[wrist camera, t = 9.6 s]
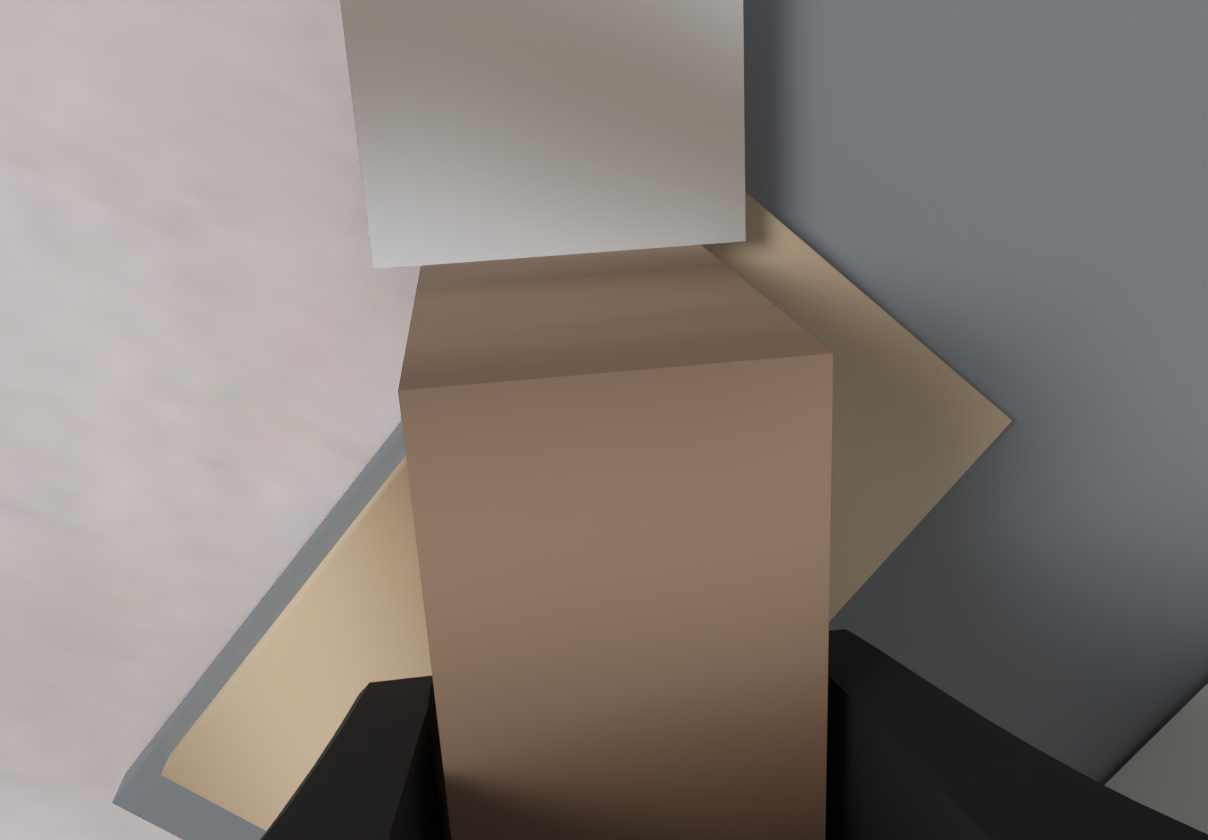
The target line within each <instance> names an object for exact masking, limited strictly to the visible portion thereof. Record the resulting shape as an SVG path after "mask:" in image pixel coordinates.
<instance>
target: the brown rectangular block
mask: <svg viewBox="0 0 1208 840" xmlns="http://www.w3.org/2000/svg"><path fill="white" fill-rule="evenodd" d="M340 4H341V12H342V20H343V28H344V36H345V44H346V52H347V61H348V69H349V77H350V85H351V93H352V101H353V110H354V118H355V126H356V134H357V142H358V150H359V158H360V167H361V175H362V183H363V191H364V199H365V207H366V216H367V224H368V232H369V240H370V248H371V256H372V265H373V269H382V268H395V267H409V266H421V269H420V274H419V279H418V285H417V290H416V296H415V301H414V307H413V312H412V318H411V323H410V329H409V334H408V340H407V345H406V351H405V356H404V362H403V367H402V373H401V378H400V383H399V389H398V393H399V402H400V410H401V418H402V427H403V435H404V444H405V452H406V460H407V469H408V477H409V485H410V494H411V502H412V511H413V519H414V527H415V536H416V544H417V552H418V561H419V569H420V578H421V586H422V594H423V603H424V611H425V619H426V628H427V636H428V645H429V653H430V661H431V670H432V678H433V686H434V695H435V703H436V712H437V720H438V728H439V737H440V745H441V753H442V762H443V770H444V779H445V787H446V795H447V804H448V812H449V820H450V829H451V837H452V840H825V829H826V768H827V707H828V645H829V584H830V523H831V462H832V401H833V353H832V352H831V351H830V350H829V349H827V348H826V347H825V346H824V345H823V344H821V343H820V342H819V341H818V340H816V339H815V338H814V337H813V336H812V335H810V334H809V333H808V332H807V331H805V330H804V329H803V328H802V327H801V326H799V325H798V324H797V323H796V322H794V321H793V320H792V319H791V318H790V317H788V316H787V315H786V314H785V313H783V312H782V311H781V310H780V309H779V308H777V307H776V306H775V305H774V304H772V303H771V302H770V301H769V300H768V299H766V298H765V297H764V296H763V295H761V294H760V293H759V292H758V291H757V290H755V289H754V288H753V287H752V286H750V285H749V284H748V283H747V282H746V281H744V280H743V279H742V278H741V277H739V276H738V275H737V274H736V273H735V272H733V271H732V270H731V269H730V268H728V267H727V266H726V265H725V264H724V263H722V262H721V261H720V260H719V259H717V258H716V257H715V256H714V255H713V254H711V253H710V252H709V251H708V250H706V249H705V248H704V247H703V246H702V244H716V243H729V242H742V241H746V222H745V126H744V29H743V0H340Z"/></svg>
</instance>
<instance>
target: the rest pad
mask: <svg viewBox="0 0 1208 840" xmlns="http://www.w3.org/2000/svg"><path fill="white" fill-rule="evenodd" d="M745 222H746V241H742V242H729V243H716V244H702V246H703V247H704V248H705V249H706V250H708V251H709V252H710V253H711V254H713V255H714V256H715V257H716V258H717V259H719V260H720V261H721V262H722V263H724V264H725V265H726V266H727V267H728V268H730V269H731V270H732V271H733V272H735V273H736V274H737V275H738V276H739V277H741V278H742V279H743V280H744V281H746V282H747V283H748V284H749V285H750V286H752V287H753V288H754V289H755V290H757V291H758V292H759V293H760V294H761V295H763V296H764V297H765V298H766V299H768V300H769V301H770V302H771V303H772V304H774V305H775V306H776V307H777V308H779V309H780V310H781V311H782V312H783V313H785V314H786V315H787V316H788V317H790V318H791V319H792V320H793V321H794V322H796V323H797V324H798V325H799V326H801V327H802V328H803V329H804V330H805V331H807V332H808V333H809V334H810V335H812V336H813V337H814V338H815V339H816V340H818V341H819V342H820V343H821V344H823V345H824V346H825V347H826V348H827V349H829V350H830V351H831V352H832V353H833V401H832V462H831V523H830V584H829V621H830V620H831V619H832V618H833V617H834V616H835V615H836V614H837V613H838V611H839V610H840V609H841V608H842V607H843V606H844V605H845V604H846V603H847V602H848V600H849V599H850V598H851V597H852V596H853V595H854V594H855V593H856V592H857V591H858V589H859V588H860V587H861V586H862V585H863V584H864V583H865V582H866V581H867V580H868V578H869V577H870V576H871V575H872V574H873V573H874V572H875V571H876V570H877V569H878V568H879V566H880V565H881V564H882V563H883V562H884V561H885V560H886V559H887V558H888V557H889V555H890V554H891V553H892V552H893V551H894V550H895V549H896V548H897V547H898V546H899V544H900V543H901V542H902V541H903V540H904V539H905V538H906V537H907V536H908V535H909V533H910V532H911V531H912V530H913V529H914V528H915V527H916V526H917V525H918V524H919V523H920V521H921V520H922V519H923V518H924V517H925V516H926V515H927V514H928V513H929V512H930V510H931V509H932V508H933V507H934V506H935V505H936V504H937V503H938V502H939V501H940V499H941V498H942V497H943V496H944V495H945V494H946V493H947V492H948V491H949V490H950V488H951V487H952V486H953V485H954V484H955V483H956V482H957V481H958V480H959V479H960V477H961V476H962V475H963V474H964V473H965V472H966V471H967V470H968V469H969V468H970V467H971V465H972V464H973V463H974V462H975V461H976V460H977V459H978V458H979V457H980V456H981V454H982V453H983V452H984V451H985V450H986V449H987V448H988V447H989V446H990V445H991V443H992V442H993V441H994V440H995V439H996V438H997V437H998V436H999V435H1000V434H1001V432H1002V431H1003V430H1004V429H1005V428H1006V427H1007V426H1008V425H1009V424H1010V423H1011V421H1012V420H1011V419H1010V418H1008V417H1007V416H1006V415H1005V414H1004V413H1003V412H1001V411H1000V410H999V409H998V408H997V407H996V406H994V405H993V404H992V403H991V402H990V401H989V400H987V399H986V398H985V397H984V396H983V395H982V394H980V393H979V392H978V391H977V390H976V389H975V388H973V387H972V386H971V385H970V384H969V383H968V382H966V381H965V380H964V379H963V378H962V377H961V376H960V375H958V374H957V373H956V372H955V371H954V370H953V369H951V368H950V367H949V366H948V365H947V364H946V363H944V362H943V361H942V360H941V359H940V358H939V357H937V356H936V355H935V354H934V353H933V352H932V351H930V350H929V349H928V348H927V347H926V346H925V345H923V344H922V343H921V342H920V341H919V340H918V339H916V338H915V337H914V336H913V335H912V334H911V333H909V332H908V331H907V330H906V329H905V328H904V327H902V326H901V325H900V324H899V323H898V322H897V321H895V320H894V319H893V318H892V317H891V316H890V315H888V314H887V313H886V312H885V311H884V310H883V309H881V308H880V307H879V306H878V305H877V304H876V303H874V302H873V301H872V300H871V299H870V298H869V297H867V296H866V295H865V294H864V293H863V292H862V291H860V290H859V289H858V288H857V287H856V286H855V285H853V284H852V283H851V282H850V281H849V280H848V279H846V278H845V277H844V276H843V275H842V274H841V273H839V272H838V271H837V270H836V269H835V268H834V267H832V266H831V265H830V264H829V263H828V262H827V261H825V260H824V259H823V258H822V257H821V256H820V255H819V254H817V253H816V252H815V251H814V250H813V249H812V248H810V247H809V246H808V245H807V244H806V243H805V242H803V241H802V240H801V239H800V238H799V237H798V236H796V235H795V234H794V233H793V232H792V231H791V230H789V229H788V228H787V227H786V226H785V225H784V224H782V223H781V222H780V221H779V220H778V219H777V218H775V217H774V216H773V215H772V214H771V213H770V212H768V211H767V210H766V209H765V208H764V207H763V206H761V205H760V204H759V203H758V202H757V201H756V200H754V199H753V198H752V197H751V196H750V195H749V194H747V193H746V192H745ZM423 676H432V670H431V661H430V653H429V645H428V636H427V628H426V619H425V611H424V603H423V594H422V586H421V578H420V569H419V561H418V552H417V544H416V536H415V527H414V519H413V511H412V502H411V494H410V485H409V477H408V469H407V460H406V456H405V457H404V458H403V459H402V461H401V462H400V463H399V465H398V466H397V467H396V468H395V470H394V471H393V472H392V473H391V475H390V476H389V477H388V478H387V480H386V481H385V482H384V484H383V485H382V486H381V487H380V489H379V490H378V491H377V492H376V494H375V495H374V496H373V497H372V499H371V500H370V501H369V503H368V504H367V505H366V506H365V508H364V509H363V510H362V511H361V513H360V514H359V515H358V516H357V518H356V519H355V520H354V522H353V523H352V524H351V525H350V527H349V528H348V529H347V530H346V532H345V533H344V534H343V535H342V537H341V538H340V539H339V541H338V542H337V543H336V544H335V546H334V547H333V548H332V549H331V551H330V552H329V553H328V554H327V556H326V557H325V558H324V560H323V561H322V562H321V563H320V565H319V566H318V567H317V568H316V570H315V571H314V572H313V574H312V575H311V576H310V577H309V579H308V580H307V581H306V582H305V584H304V585H303V586H302V587H301V589H300V590H299V591H298V593H297V594H296V595H295V596H294V598H293V599H292V600H291V601H290V603H289V604H288V605H287V606H286V608H285V609H284V610H283V612H282V613H281V614H280V615H279V617H278V618H277V619H276V620H275V622H274V623H273V624H272V625H271V627H270V628H269V629H268V631H267V632H266V633H265V634H264V636H263V637H262V638H261V639H260V641H259V642H258V643H257V644H256V646H255V647H254V648H253V650H252V651H251V652H250V653H249V655H248V656H247V657H246V658H245V660H244V661H243V662H242V664H241V665H240V666H239V667H238V669H237V670H236V671H235V672H234V674H233V675H232V676H231V677H230V679H229V680H228V681H227V683H226V684H225V685H224V686H223V688H222V689H221V690H220V691H219V693H218V694H217V695H216V696H215V698H214V699H213V700H212V702H211V703H210V704H209V705H208V707H207V708H206V709H205V710H204V712H203V713H202V714H201V715H200V717H199V718H198V719H197V721H196V722H195V723H194V724H193V726H192V727H191V728H190V729H189V731H188V732H187V733H186V734H185V736H184V737H183V738H182V740H181V741H180V742H179V743H178V745H177V746H176V747H175V748H174V750H173V751H172V752H171V754H170V755H169V757H168V759H167V761H166V764H165V766H164V769H163V771H162V773H161V775H162V776H164V777H166V778H168V779H169V780H171V781H173V782H175V783H177V784H179V785H181V786H183V787H184V788H186V789H188V790H190V791H192V792H194V793H196V794H198V795H199V796H201V797H203V798H205V799H207V800H209V801H211V802H213V803H215V804H216V805H218V806H220V807H222V808H224V809H226V810H228V811H230V812H231V813H233V814H235V815H237V816H239V817H241V818H243V819H245V820H246V821H248V822H250V823H252V824H254V825H256V826H258V827H260V828H261V829H263V830H265V831H267V830H268V829H269V827H270V826H271V825H272V823H273V822H274V821H275V819H276V818H277V817H278V815H279V814H280V812H281V811H282V810H283V808H284V807H285V805H286V804H287V803H288V801H289V800H290V798H291V797H292V796H293V794H294V793H295V791H296V790H297V789H298V787H299V786H300V784H301V783H302V782H303V780H304V779H305V777H306V776H307V775H308V773H309V772H310V770H311V769H312V767H313V766H314V764H315V763H316V761H317V760H318V758H319V757H320V755H321V754H322V752H323V751H324V749H325V748H326V746H327V745H328V743H329V742H330V740H331V739H332V737H333V736H334V734H335V733H336V731H337V729H338V728H339V726H340V725H341V723H342V721H343V720H344V718H345V716H346V715H347V713H348V712H349V710H350V708H351V707H352V705H353V703H354V702H355V700H356V698H357V697H358V695H359V694H360V693H361V691H362V690H363V689H364V688H365V687H366V686H367V685H368V684H369V682H378V681H387V680H396V679H405V678H414V677H423Z"/></svg>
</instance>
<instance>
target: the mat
mask: <svg viewBox="0 0 1208 840" xmlns="http://www.w3.org/2000/svg"><path fill="white" fill-rule="evenodd" d="M743 29H744V126H745V192H746V193H747V194H749V195H750V196H751V197H752V198H753V199H754V200H756V201H757V202H758V203H759V204H760V205H761V206H763V207H764V208H765V209H766V210H767V211H768V212H770V213H771V214H772V215H773V216H774V217H775V218H777V219H778V220H779V221H780V222H781V223H782V224H784V225H785V226H786V227H787V228H788V229H789V230H791V231H792V232H793V233H794V234H795V235H796V236H798V237H799V238H800V239H801V240H802V241H803V242H805V243H806V244H807V245H808V246H809V247H810V248H812V249H813V250H814V251H815V252H816V253H817V254H819V255H820V256H821V257H822V258H823V259H824V260H825V261H827V262H828V263H829V264H830V265H831V266H832V267H834V268H835V269H836V270H837V271H838V272H839V273H841V274H842V275H843V276H844V277H845V278H846V279H848V280H849V281H850V282H851V283H852V284H853V285H855V286H856V287H857V288H858V289H859V290H860V291H862V292H863V293H864V294H865V295H866V296H867V297H869V298H870V299H871V300H872V301H873V302H874V303H876V304H877V305H878V306H879V307H880V308H881V309H883V310H884V311H885V312H886V313H887V314H888V315H890V316H891V317H892V318H893V319H894V320H895V321H897V322H898V323H899V324H900V325H901V326H902V327H904V328H905V329H906V330H907V331H908V332H909V333H911V334H912V335H913V336H914V337H915V338H916V339H918V340H919V341H920V342H921V343H922V344H923V345H925V346H926V347H927V348H928V349H929V350H930V351H932V352H933V353H934V354H935V355H936V356H937V357H939V358H940V359H941V360H942V361H943V362H944V363H946V364H947V365H948V366H949V367H950V368H951V369H953V370H954V371H955V372H956V373H957V374H958V375H960V376H961V377H962V378H963V379H964V380H965V381H966V382H968V383H969V384H970V385H971V386H972V387H973V388H975V389H976V390H977V391H978V392H979V393H980V394H982V395H983V396H984V397H985V398H986V399H987V400H989V401H990V402H991V403H992V404H993V405H994V406H996V407H997V408H998V409H999V410H1000V411H1001V412H1003V413H1004V414H1005V415H1006V416H1007V417H1008V418H1010V419H1011V420H1012V421H1011V423H1010V424H1009V425H1008V426H1007V427H1006V428H1005V429H1004V430H1003V431H1002V432H1001V434H1000V435H999V436H998V437H997V438H996V439H995V440H994V441H993V442H992V443H991V445H990V446H989V447H988V448H987V449H986V450H985V451H984V452H983V453H982V454H981V456H980V457H979V458H978V459H977V460H976V461H975V462H974V463H973V464H972V465H971V467H970V468H969V469H968V470H967V471H966V472H965V473H964V474H963V475H962V476H961V477H960V479H959V480H958V481H957V482H956V483H955V484H954V485H953V486H952V487H951V488H950V490H949V491H948V492H947V493H946V494H945V495H944V496H943V497H942V498H941V499H940V501H939V502H938V503H937V504H936V505H935V506H934V507H933V508H932V509H931V510H930V512H929V513H928V514H927V515H926V516H925V517H924V518H923V519H922V520H921V521H920V523H919V524H918V525H917V526H916V527H915V528H914V529H913V530H912V531H911V532H910V533H909V535H908V536H907V537H906V538H905V539H904V540H903V541H902V542H901V543H900V544H899V546H898V547H897V548H896V549H895V550H894V551H893V552H892V553H891V554H890V555H889V557H888V558H887V559H886V560H885V561H884V562H883V563H882V564H881V565H880V566H879V568H878V569H877V570H876V571H875V572H874V573H873V574H872V575H871V576H870V577H869V578H868V580H867V581H866V582H865V583H864V584H863V585H862V586H861V587H860V588H859V589H858V591H857V592H856V593H855V594H854V595H853V596H852V597H851V598H850V599H849V600H848V602H847V603H846V604H845V605H844V606H843V607H842V608H841V609H840V610H839V611H838V613H837V614H836V615H835V616H834V617H833V618H832V619H831V620H830V621H829V631H832V630H841V629H846V630H848V631H850V632H851V633H853V634H855V635H857V636H858V637H860V638H862V639H863V640H865V641H867V642H868V643H870V644H871V645H873V646H875V647H876V648H878V649H879V650H881V651H882V652H884V653H885V654H887V655H888V656H890V657H892V658H893V659H895V660H896V661H898V662H899V663H901V664H902V665H904V666H905V667H907V668H908V669H910V670H911V671H913V672H914V673H916V674H917V675H919V676H921V677H922V678H924V679H925V680H927V681H928V682H930V683H931V684H933V685H934V686H936V687H937V688H939V689H941V690H942V691H944V692H945V693H947V694H948V695H950V696H951V697H953V698H955V699H956V700H958V701H959V702H961V703H962V704H964V705H966V706H967V707H969V708H970V709H972V710H974V711H975V712H977V713H978V714H980V715H982V716H983V717H985V718H986V719H988V720H990V721H991V722H993V723H995V724H996V725H998V726H1000V727H1001V728H1003V729H1004V730H1006V731H1008V732H1009V733H1011V734H1013V735H1015V736H1016V737H1018V738H1020V739H1021V740H1023V741H1025V742H1026V743H1028V744H1030V745H1032V746H1033V747H1035V748H1037V749H1038V750H1040V751H1042V752H1044V753H1046V754H1048V755H1049V756H1051V757H1053V758H1055V759H1057V760H1058V761H1060V762H1062V763H1064V764H1066V765H1068V766H1069V767H1071V768H1073V769H1075V770H1077V771H1079V772H1080V773H1082V774H1084V775H1086V776H1088V777H1089V778H1091V779H1093V780H1095V781H1097V782H1099V783H1101V784H1103V785H1105V784H1106V783H1107V782H1108V781H1109V780H1110V779H1111V778H1112V777H1113V776H1114V775H1115V774H1116V773H1117V772H1118V771H1119V770H1120V769H1121V768H1122V767H1123V766H1124V765H1125V764H1126V763H1127V762H1128V761H1129V760H1130V759H1131V758H1132V757H1133V756H1134V755H1135V754H1136V753H1137V752H1138V751H1139V750H1140V749H1141V748H1143V747H1144V746H1145V745H1146V744H1147V743H1148V742H1149V741H1150V740H1151V739H1152V738H1153V737H1154V736H1155V735H1156V734H1157V733H1158V732H1159V731H1160V730H1161V729H1162V728H1163V727H1164V726H1165V725H1166V724H1167V723H1168V722H1169V721H1170V720H1171V719H1172V718H1173V717H1174V716H1175V715H1176V714H1177V713H1178V712H1179V711H1180V710H1181V709H1182V708H1183V707H1184V706H1185V705H1186V704H1187V703H1188V702H1189V701H1190V700H1191V699H1192V698H1193V697H1194V696H1195V695H1196V694H1197V693H1198V692H1199V691H1200V690H1201V689H1202V688H1203V687H1204V686H1205V685H1206V684H1207V683H1208V0H743ZM405 456H406V452H405V444H404V435H403V427H402V421H401V422H400V424H399V425H398V426H397V427H396V429H395V430H394V431H393V433H392V434H391V435H390V436H389V438H388V439H387V440H386V441H385V443H384V444H383V445H382V447H381V448H380V449H379V450H378V452H377V453H376V454H375V456H374V457H373V458H372V459H371V461H370V462H369V463H368V464H367V466H366V467H365V468H364V470H363V471H362V472H361V473H360V475H359V476H358V477H357V479H356V480H355V481H354V482H353V484H352V485H351V486H350V487H349V489H348V490H347V491H346V493H345V494H344V495H343V496H342V498H341V499H340V500H339V502H338V503H337V504H336V505H335V507H334V508H333V509H332V510H331V512H330V513H329V514H328V516H327V517H326V518H325V519H324V521H323V522H322V523H321V525H320V526H319V527H318V528H317V530H316V531H315V532H314V534H313V535H312V536H311V537H310V539H309V540H308V541H307V542H306V544H305V545H304V546H303V548H302V549H301V550H300V551H299V553H298V554H297V555H296V557H295V558H294V559H293V560H292V562H291V563H290V564H289V565H288V567H287V568H286V569H285V571H284V572H283V573H282V574H281V576H280V577H279V578H278V580H277V581H276V582H275V583H274V585H273V586H272V587H271V588H270V590H269V591H268V592H267V594H266V595H265V596H264V597H263V599H262V600H261V601H260V603H259V604H258V605H257V606H256V608H255V609H254V610H253V611H252V613H251V614H250V615H249V617H248V618H247V619H246V620H245V622H244V623H243V624H242V626H241V627H240V628H239V629H238V631H237V632H236V633H235V634H234V636H233V637H232V638H231V640H230V641H229V642H228V643H227V645H226V646H225V647H224V649H223V650H222V651H221V652H220V654H219V655H218V656H217V657H216V659H215V660H214V661H213V663H212V664H211V665H210V666H209V668H208V669H207V670H206V672H205V673H204V674H203V675H202V677H201V678H200V679H199V681H198V682H197V683H196V684H195V686H194V687H193V688H192V689H191V691H190V692H189V693H188V695H187V696H186V697H185V698H184V700H183V701H182V702H181V704H180V705H179V706H178V707H177V709H176V710H175V711H174V712H173V714H172V715H171V716H170V718H169V719H168V720H167V721H166V723H165V724H164V725H163V727H162V728H161V729H160V730H159V732H158V733H157V734H156V735H155V737H154V738H153V739H152V741H151V742H150V743H149V744H148V746H147V747H146V748H145V750H144V751H143V752H142V753H141V755H140V756H139V757H138V758H137V760H136V761H135V762H134V764H133V765H132V766H131V767H130V769H129V770H128V771H127V773H126V774H125V776H124V778H123V780H122V782H121V785H120V787H119V789H118V791H117V793H116V795H115V798H114V800H113V802H112V803H114V804H115V805H117V806H119V807H121V808H123V809H125V810H127V811H129V812H131V813H133V814H135V815H137V816H139V817H141V818H143V819H145V820H146V821H148V822H150V823H152V824H154V825H156V826H158V827H160V828H162V829H164V830H166V831H168V832H170V833H172V834H174V835H176V836H177V837H179V838H181V839H183V840H260V839H261V837H262V836H263V835H264V834H265V832H266V831H265V830H263V829H261V828H260V827H258V826H256V825H254V824H252V823H250V822H248V821H246V820H245V819H243V818H241V817H239V816H237V815H235V814H233V813H231V812H230V811H228V810H226V809H224V808H222V807H220V806H218V805H216V804H215V803H213V802H211V801H209V800H207V799H205V798H203V797H201V796H199V795H198V794H196V793H194V792H192V791H190V790H188V789H186V788H184V787H183V786H181V785H179V784H177V783H175V782H173V781H171V780H169V779H168V778H166V777H164V776H162V775H161V773H162V771H163V769H164V766H165V764H166V761H167V759H168V757H169V755H170V754H171V752H172V751H173V750H174V748H175V747H176V746H177V745H178V743H179V742H180V741H181V740H182V738H183V737H184V736H185V734H186V733H187V732H188V731H189V729H190V728H191V727H192V726H193V724H194V723H195V722H196V721H197V719H198V718H199V717H200V715H201V714H202V713H203V712H204V710H205V709H206V708H207V707H208V705H209V704H210V703H211V702H212V700H213V699H214V698H215V696H216V695H217V694H218V693H219V691H220V690H221V689H222V688H223V686H224V685H225V684H226V683H227V681H228V680H229V679H230V677H231V676H232V675H233V674H234V672H235V671H236V670H237V669H238V667H239V666H240V665H241V664H242V662H243V661H244V660H245V658H246V657H247V656H248V655H249V653H250V652H251V651H252V650H253V648H254V647H255V646H256V644H257V643H258V642H259V641H260V639H261V638H262V637H263V636H264V634H265V633H266V632H267V631H268V629H269V628H270V627H271V625H272V624H273V623H274V622H275V620H276V619H277V618H278V617H279V615H280V614H281V613H282V612H283V610H284V609H285V608H286V606H287V605H288V604H289V603H290V601H291V600H292V599H293V598H294V596H295V595H296V594H297V593H298V591H299V590H300V589H301V587H302V586H303V585H304V584H305V582H306V581H307V580H308V579H309V577H310V576H311V575H312V574H313V572H314V571H315V570H316V568H317V567H318V566H319V565H320V563H321V562H322V561H323V560H324V558H325V557H326V556H327V554H328V553H329V552H330V551H331V549H332V548H333V547H334V546H335V544H336V543H337V542H338V541H339V539H340V538H341V537H342V535H343V534H344V533H345V532H346V530H347V529H348V528H349V527H350V525H351V524H352V523H353V522H354V520H355V519H356V518H357V516H358V515H359V514H360V513H361V511H362V510H363V509H364V508H365V506H366V505H367V504H368V503H369V501H370V500H371V499H372V497H373V496H374V495H375V494H376V492H377V491H378V490H379V489H380V487H381V486H382V485H383V484H384V482H385V481H386V480H387V478H388V477H389V476H390V475H391V473H392V472H393V471H394V470H395V468H396V467H397V466H398V465H399V463H400V462H401V461H402V459H403V458H404V457H405Z"/></svg>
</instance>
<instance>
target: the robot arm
mask: <svg viewBox="0 0 1208 840" xmlns="http://www.w3.org/2000/svg"><path fill="white" fill-rule="evenodd" d="M260 840H452V837H451V829H450V820H449V812H448V804H447V795H446V787H445V779H444V770H443V762H442V753H441V745H440V737H439V728H438V720H437V712H436V703H435V695H434V686H433V678H432V676H423V677H414V678H405V679H396V680H387V681H378V682H369V684H368V685H367V686H366V687H365V688H364V689H363V690H362V691H361V693H360V694H359V695H358V697H357V698H356V700H355V702H354V703H353V705H352V707H351V708H350V710H349V712H348V713H347V715H346V716H345V718H344V720H343V721H342V723H341V725H340V726H339V728H338V729H337V731H336V733H335V734H334V736H333V737H332V739H331V740H330V742H329V743H328V745H327V746H326V748H325V749H324V751H323V752H322V754H321V755H320V757H319V758H318V760H317V761H316V763H315V764H314V766H313V767H312V769H311V770H310V772H309V773H308V775H307V776H306V777H305V779H304V780H303V782H302V783H301V784H300V786H299V787H298V789H297V790H296V791H295V793H294V794H293V796H292V797H291V798H290V800H289V801H288V803H287V804H286V805H285V807H284V808H283V810H282V811H281V812H280V814H279V815H278V817H277V818H276V819H275V821H274V822H273V823H272V825H271V826H270V827H269V829H268V830H267V831H266V832H265V834H264V835H263V836H262V837H261V839H260ZM825 840H1208V834H1206V833H1204V832H1201V831H1199V830H1197V829H1195V828H1193V827H1191V826H1188V825H1186V824H1184V823H1182V822H1180V821H1178V820H1175V819H1173V818H1171V817H1169V816H1167V815H1164V814H1162V813H1160V812H1158V811H1156V810H1154V809H1151V808H1149V807H1147V806H1145V805H1143V804H1141V803H1138V802H1136V801H1134V800H1132V799H1130V798H1128V797H1126V796H1124V795H1122V794H1120V793H1118V792H1116V791H1114V790H1112V789H1110V788H1108V787H1106V786H1104V785H1103V784H1101V783H1099V782H1097V781H1095V780H1093V779H1091V778H1089V777H1088V776H1086V775H1084V774H1082V773H1080V772H1079V771H1077V770H1075V769H1073V768H1071V767H1069V766H1068V765H1066V764H1064V763H1062V762H1060V761H1058V760H1057V759H1055V758H1053V757H1051V756H1049V755H1048V754H1046V753H1044V752H1042V751H1040V750H1038V749H1037V748H1035V747H1033V746H1032V745H1030V744H1028V743H1026V742H1025V741H1023V740H1021V739H1020V738H1018V737H1016V736H1015V735H1013V734H1011V733H1009V732H1008V731H1006V730H1004V729H1003V728H1001V727H1000V726H998V725H996V724H995V723H993V722H991V721H990V720H988V719H986V718H985V717H983V716H982V715H980V714H978V713H977V712H975V711H974V710H972V709H970V708H969V707H967V706H966V705H964V704H962V703H961V702H959V701H958V700H956V699H955V698H953V697H951V696H950V695H948V694H947V693H945V692H944V691H942V690H941V689H939V688H937V687H936V686H934V685H933V684H931V683H930V682H928V681H927V680H925V679H924V678H922V677H921V676H919V675H917V674H916V673H914V672H913V671H911V670H910V669H908V668H907V667H905V666H904V665H902V664H901V663H899V662H898V661H896V660H895V659H893V658H892V657H890V656H888V655H887V654H885V653H884V652H882V651H881V650H879V649H878V648H876V647H875V646H873V645H871V644H870V643H868V642H867V641H865V640H863V639H862V638H860V637H858V636H857V635H855V634H853V633H851V632H850V631H848V630H846V629H841V630H832V631H829V645H828V707H827V768H826V829H825Z"/></svg>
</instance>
